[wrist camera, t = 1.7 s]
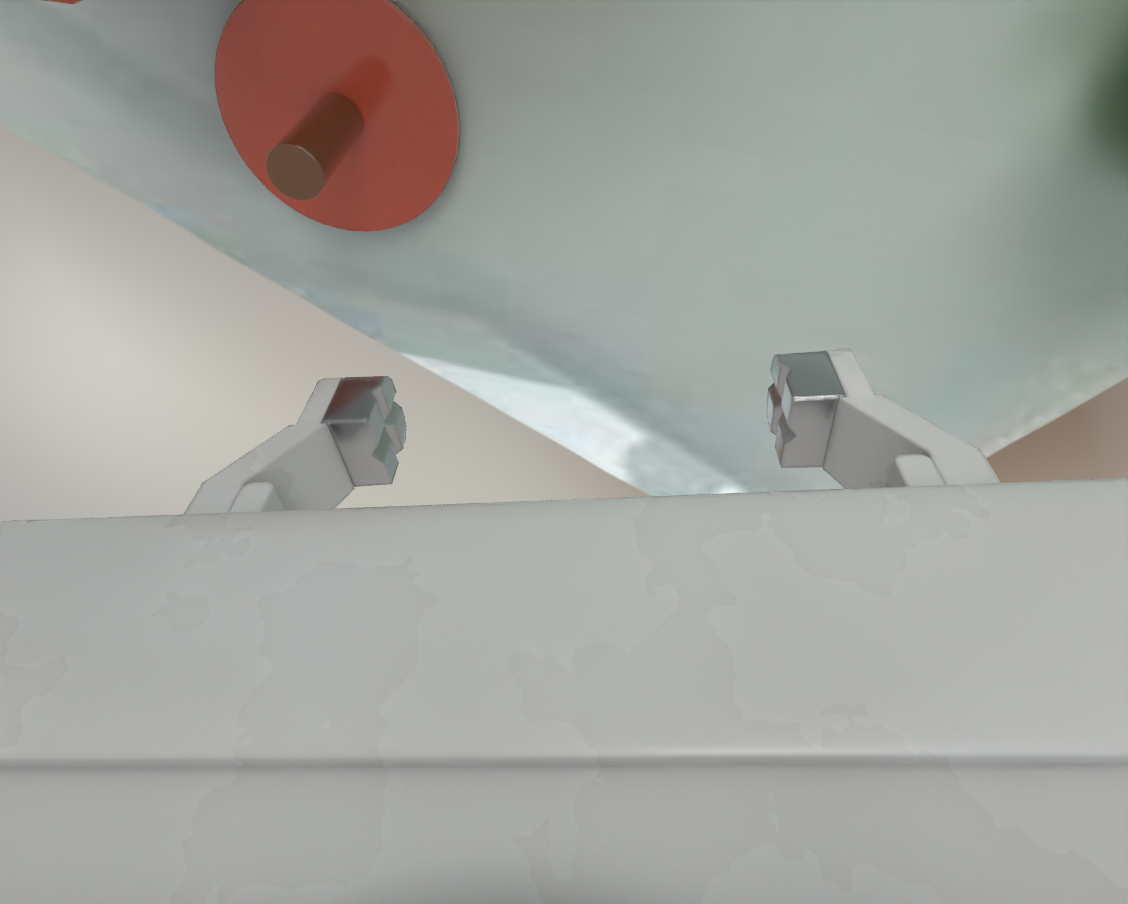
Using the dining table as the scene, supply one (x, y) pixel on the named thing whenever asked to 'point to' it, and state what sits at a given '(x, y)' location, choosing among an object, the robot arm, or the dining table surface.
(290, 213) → the dining table surface
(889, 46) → the dining table surface
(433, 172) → the lid
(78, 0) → the pot
